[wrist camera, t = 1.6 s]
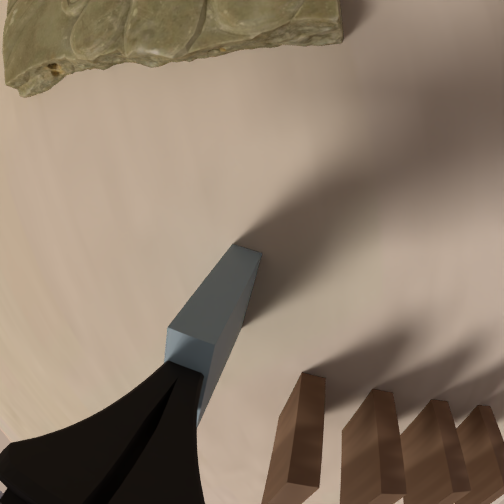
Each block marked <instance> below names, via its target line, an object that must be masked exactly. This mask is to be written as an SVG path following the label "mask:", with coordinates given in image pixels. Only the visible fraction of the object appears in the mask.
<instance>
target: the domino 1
mask: <svg viewBox="0 0 504 504" xmlns="http://www.w3.org/2000/svg"><path fill="white" fill-rule="evenodd" d="M261 256H262V253H260V252H257V251H254V250H250V249H247V248H244V247H240V246H237V245H234V244H232V245H231V247H230V248H229V249H228V250H227V252H226V253H225V254H224V256H223V257H222V258H221V259H220V261H219V262H218V263H217V264H216V266H215V267H214V268H213V270H212V271H211V272H210V273H209V275H208V276H207V277H206V278H205V280H204V281H203V282H202V284H201V285H200V286H199V287H198V289H197V290H196V291H195V293H194V294H193V295H192V296H191V298H190V299H189V300H188V302H187V303H186V304H185V305H184V307H183V308H182V309H181V311H180V312H179V313H178V314H177V316H176V317H175V318H174V320H173V321H172V322H171V324H170V325H169V326H168V328H167V338H166V348H165V359H164V363H165V362H166V361H171V362H174V363H176V364H179V365H181V366H184V367H187V368H189V369H192V370H195V371H198V372H201V373H202V374H203V375H204V380H203V384H202V389H201V394H200V399H199V403H198V410H197V427H198V425H199V422H200V420H201V418H202V416H203V414H204V411H205V409H206V407H207V405H208V403H209V400H210V398H211V396H212V394H213V391H214V389H215V387H216V385H217V382H218V380H219V378H220V376H221V373H222V371H223V369H224V367H225V364H226V362H227V360H228V358H229V355H230V353H231V351H232V348H233V346H234V344H235V342H236V339H237V337H238V335H239V332H240V330H241V328H242V324H243V320H244V317H245V313H246V310H247V306H248V303H249V299H250V296H251V292H252V288H253V285H254V281H255V278H256V274H257V270H258V267H259V263H260V260H261Z"/></svg>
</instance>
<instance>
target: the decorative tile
mask: <svg viewBox="0 0 504 504" xmlns="http://www.w3.org/2000/svg"><path fill="white" fill-rule="evenodd" d="M342 41H343V27H342V16H341V8H340V0H8V5H7V19H6V21H5V26H4V32H3V46H2V53H3V61H4V69H5V84H6V85H7V86H10V87H12V88H15V89H18V92H19V95H20V96H21V97H24V98H26V97H31V96H34V95H36V94H39V93H42V92H45V91H47V90H49V89H51V88H52V86H54V85H56V84H57V83H58V82H59V81H61V80H62V79H63V78H64V77H65V76H66V75H69V74H73V73H74V72H79V71H83V70H86V69H88V70H91V69H94V68H96V69H101V70H105V69H108V68H109V67H111V66H113V65H116V64H121V63H124V62H134V63H138V64H142V65H145V66H148V67H159V66H162V65H165V64H167V63H169V62H181V61H188V62H191V61H193V60H194V59H197V58H208V57H216V56H220V55H224V54H227V53H230V52H234V51H238V50H244V49H255V48H262V47H266V48H272V47H278V46H280V45H282V44H284V45H296V46H309V45H315V46H323V45H330V44H340V43H342Z"/></svg>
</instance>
